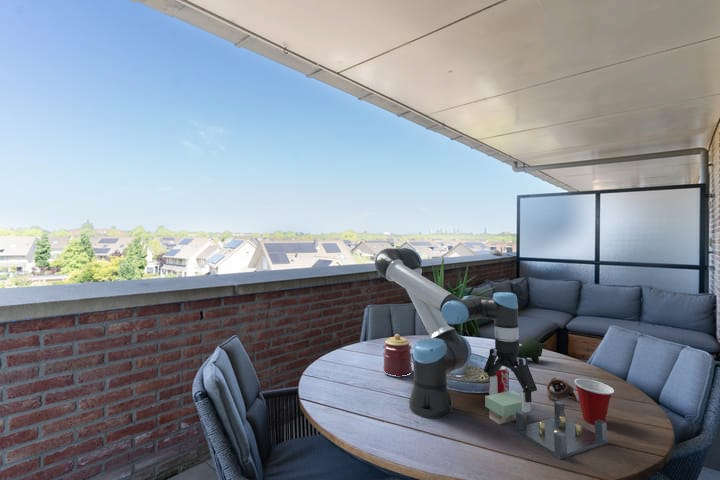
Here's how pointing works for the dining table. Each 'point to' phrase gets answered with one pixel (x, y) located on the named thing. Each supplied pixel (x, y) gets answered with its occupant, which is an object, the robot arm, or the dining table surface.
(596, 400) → the plastic cup
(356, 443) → the dining table surface
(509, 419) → the block
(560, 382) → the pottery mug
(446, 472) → the dining table surface
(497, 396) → the mint green block
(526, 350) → the toy figurine
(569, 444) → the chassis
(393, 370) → the canister
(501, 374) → the soda can
